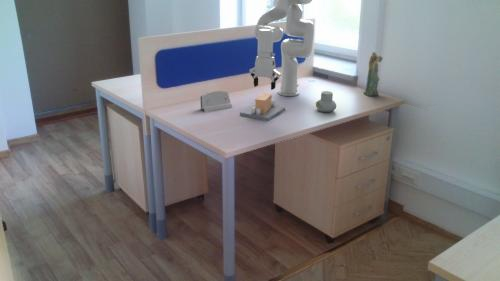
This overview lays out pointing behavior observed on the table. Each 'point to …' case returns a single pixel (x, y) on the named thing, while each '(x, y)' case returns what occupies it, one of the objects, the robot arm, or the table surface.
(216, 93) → the hinge
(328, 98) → the grey green vase
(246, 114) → the base plate
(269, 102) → the block
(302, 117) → the table surface
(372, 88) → the statue
